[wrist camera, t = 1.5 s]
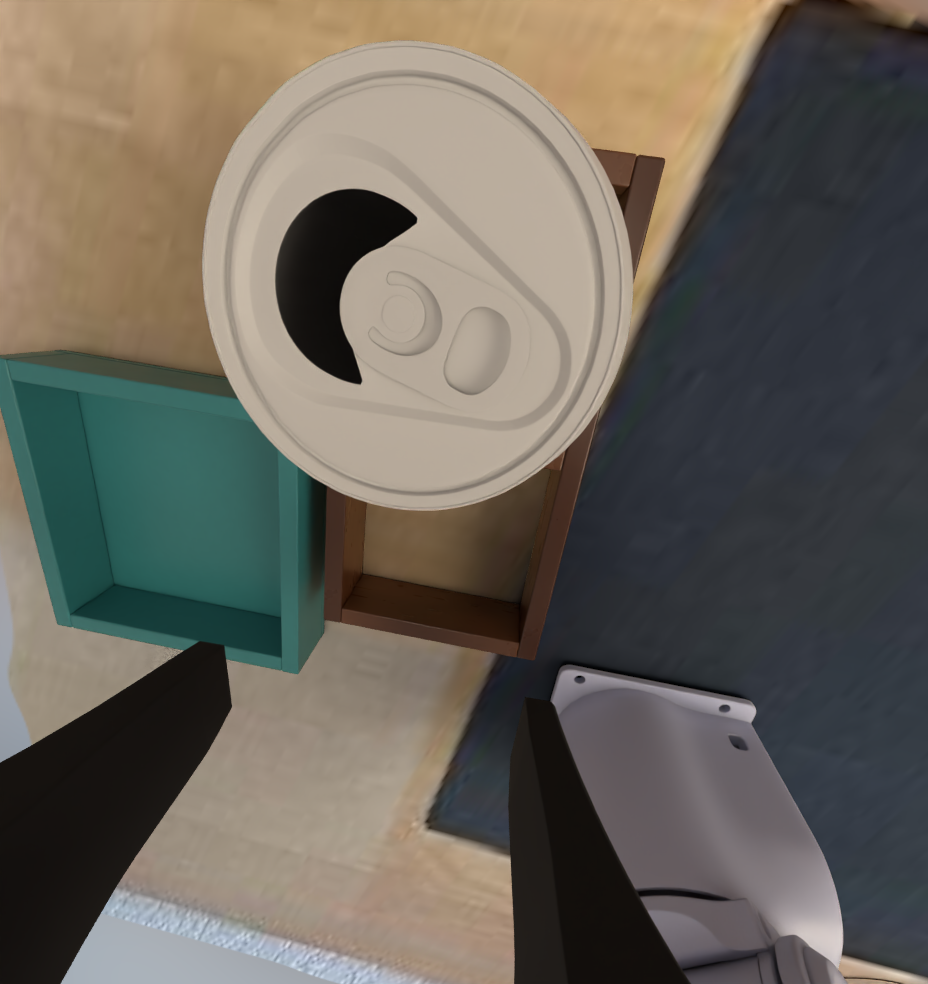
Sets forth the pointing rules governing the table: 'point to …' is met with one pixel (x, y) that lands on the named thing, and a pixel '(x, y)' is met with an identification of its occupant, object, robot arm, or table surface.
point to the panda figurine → (867, 981)
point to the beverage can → (416, 275)
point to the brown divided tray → (523, 624)
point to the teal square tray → (165, 508)
